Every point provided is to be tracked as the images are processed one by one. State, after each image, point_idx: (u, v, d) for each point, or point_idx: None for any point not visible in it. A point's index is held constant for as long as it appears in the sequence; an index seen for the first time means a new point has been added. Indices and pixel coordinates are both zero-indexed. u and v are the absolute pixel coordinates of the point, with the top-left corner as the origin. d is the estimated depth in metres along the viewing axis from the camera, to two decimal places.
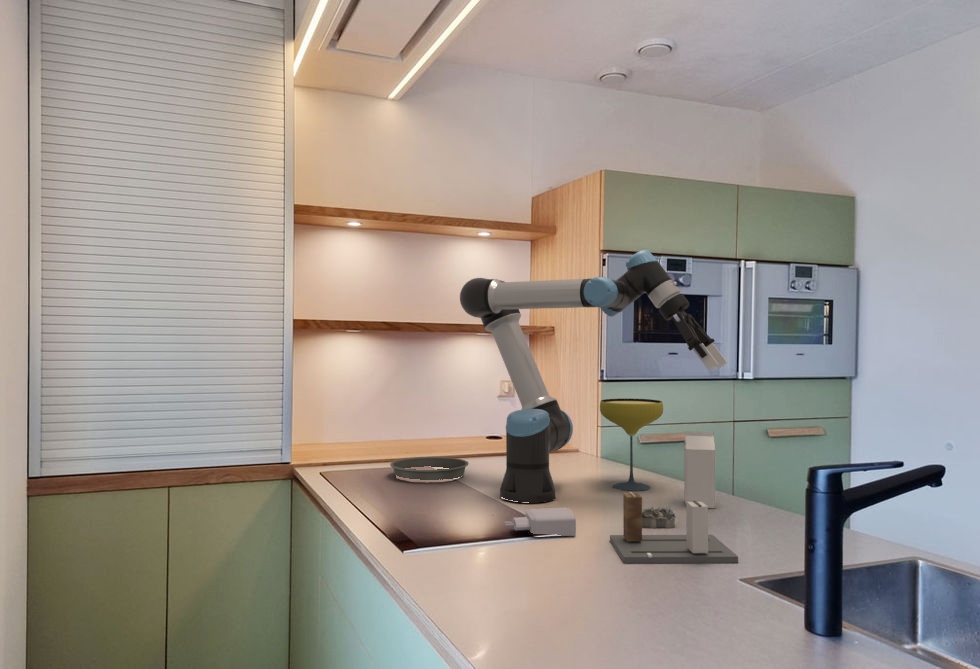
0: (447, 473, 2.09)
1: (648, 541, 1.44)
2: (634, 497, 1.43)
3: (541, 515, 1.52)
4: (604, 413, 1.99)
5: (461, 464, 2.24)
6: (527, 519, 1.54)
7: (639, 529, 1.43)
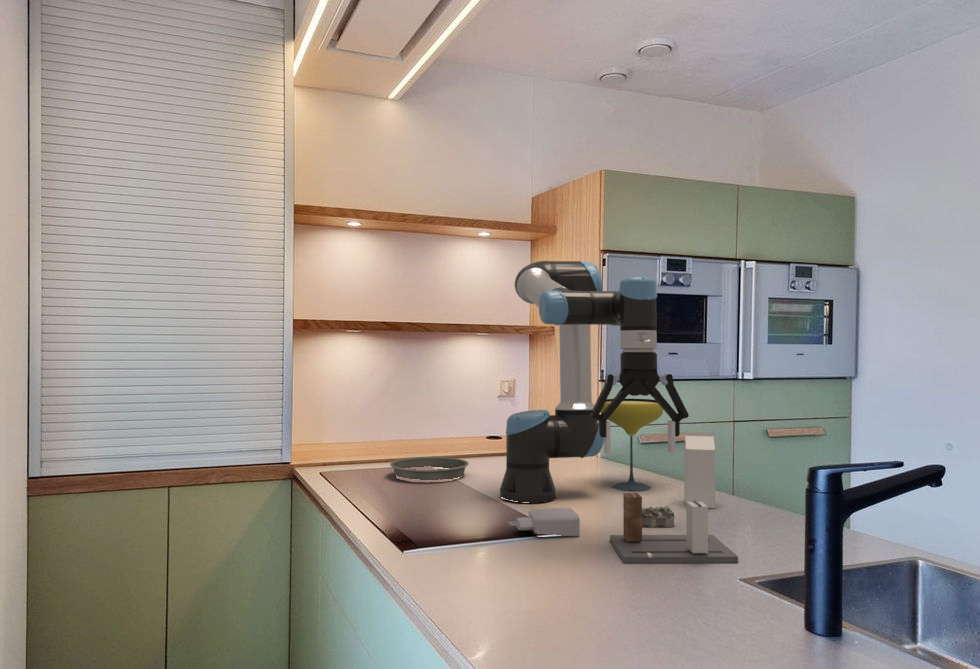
0: (447, 473, 2.09)
1: (648, 541, 1.44)
2: (634, 497, 1.43)
3: (545, 515, 1.52)
4: None
5: (461, 464, 2.24)
6: (531, 519, 1.54)
7: (639, 529, 1.43)
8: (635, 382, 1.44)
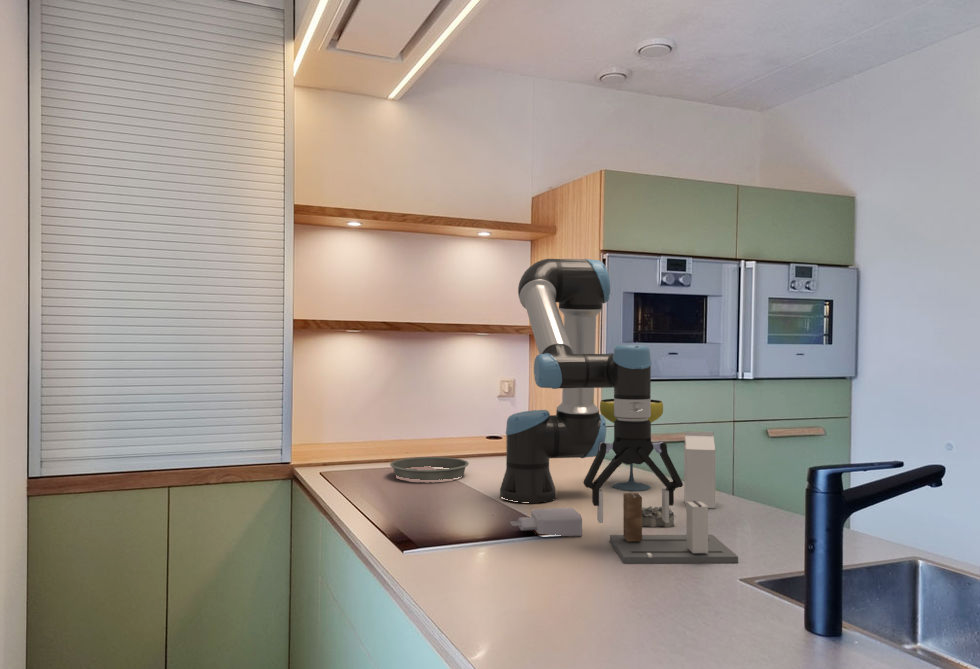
0: (447, 473, 2.09)
1: (648, 541, 1.44)
2: (634, 497, 1.43)
3: (547, 515, 1.52)
4: (604, 413, 1.99)
5: (461, 464, 2.24)
6: (533, 519, 1.54)
7: (639, 529, 1.43)
8: (628, 451, 1.43)
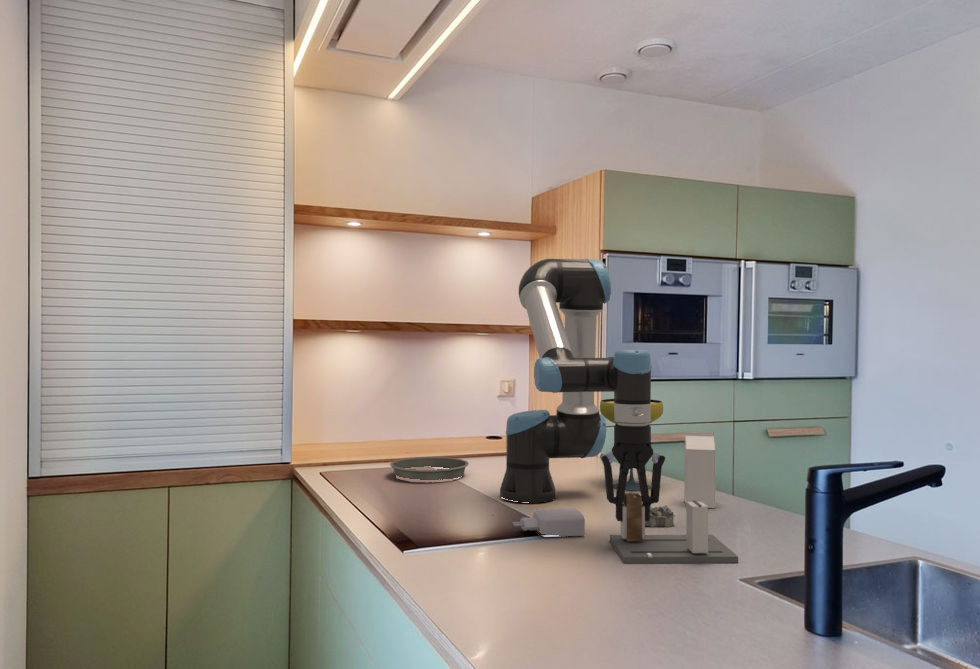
0: (447, 473, 2.09)
1: (648, 541, 1.44)
2: (634, 497, 1.43)
3: (550, 515, 1.52)
4: (604, 413, 1.99)
5: (461, 464, 2.24)
6: (536, 519, 1.54)
7: (639, 529, 1.43)
8: (628, 456, 1.43)
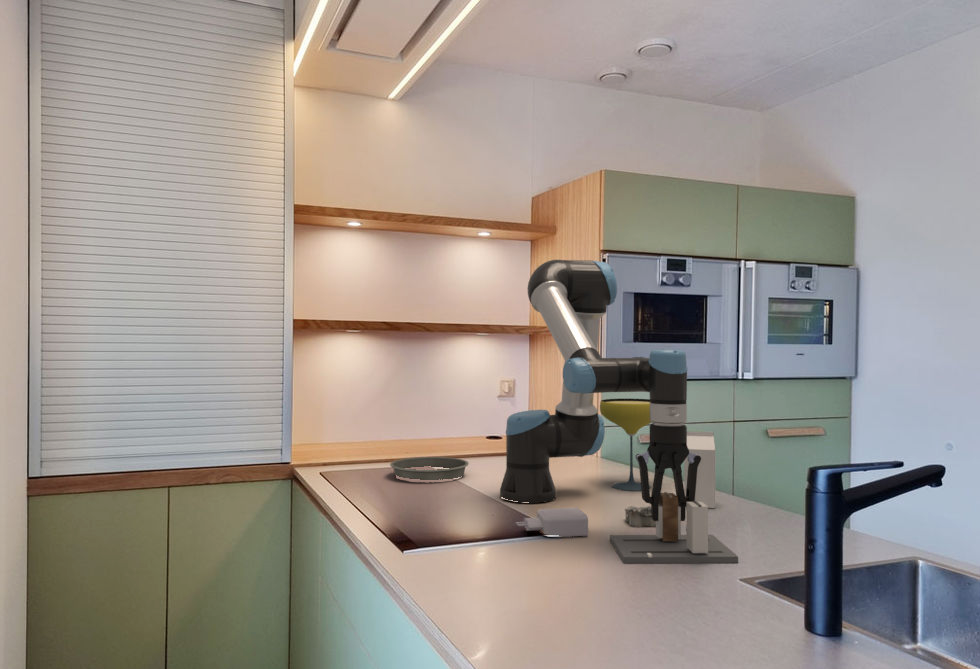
0: (447, 473, 2.09)
1: (648, 541, 1.44)
2: (670, 497, 1.43)
3: (553, 515, 1.52)
4: (604, 413, 1.99)
5: (461, 464, 2.24)
6: (539, 519, 1.54)
7: (675, 529, 1.43)
8: (664, 456, 1.43)
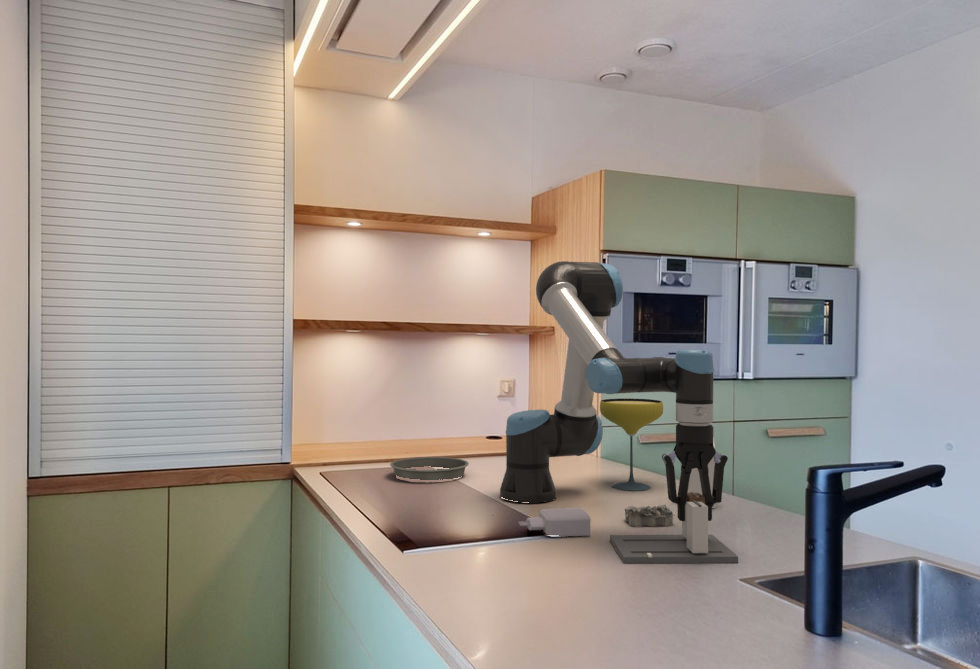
0: (447, 473, 2.09)
1: (648, 541, 1.44)
2: (697, 497, 1.43)
3: (556, 515, 1.52)
4: (604, 413, 1.99)
5: (461, 464, 2.24)
6: (541, 519, 1.54)
7: None
8: (691, 456, 1.43)
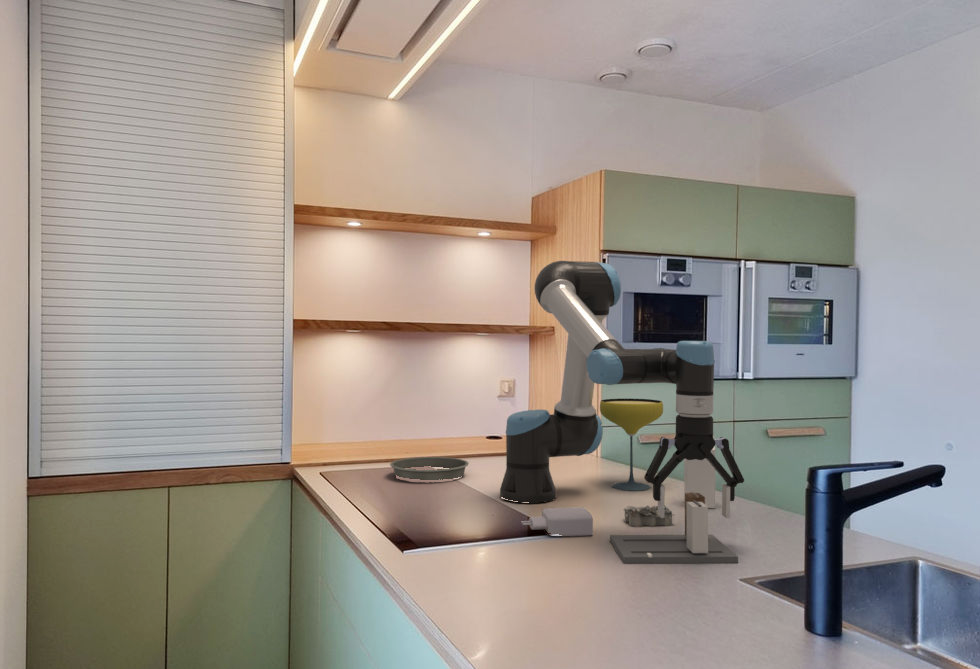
0: (447, 473, 2.09)
1: (648, 541, 1.44)
2: (697, 497, 1.43)
3: (558, 514, 1.53)
4: (604, 413, 1.99)
5: (461, 464, 2.24)
6: (544, 518, 1.54)
7: None
8: (691, 447, 1.43)
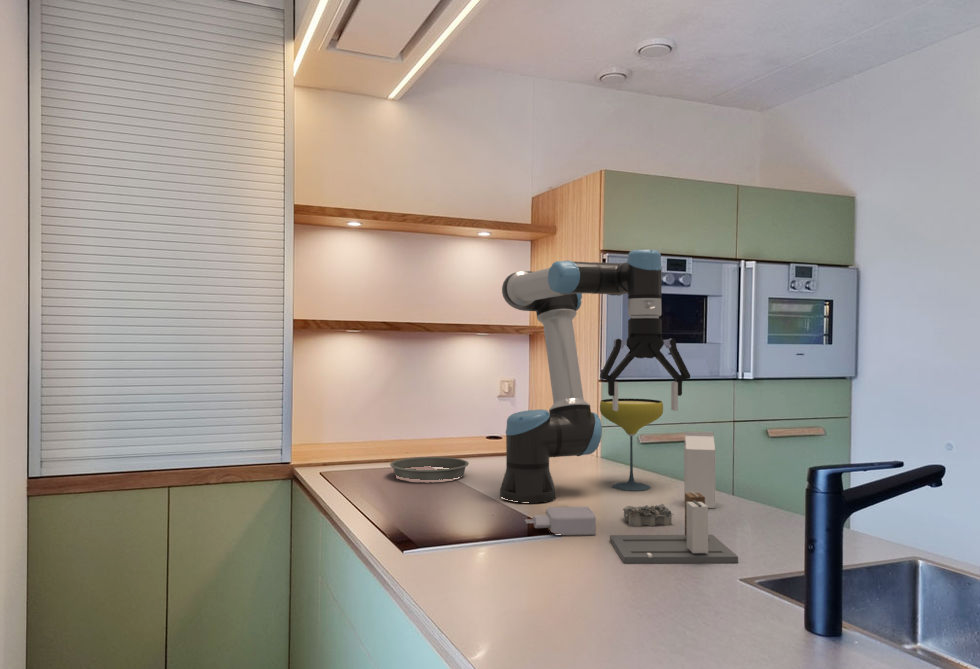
0: (447, 473, 2.09)
1: (648, 541, 1.44)
2: (697, 497, 1.43)
3: (561, 513, 1.54)
4: (604, 413, 1.99)
5: (461, 464, 2.24)
6: (547, 517, 1.55)
7: None
8: (641, 346, 1.57)
